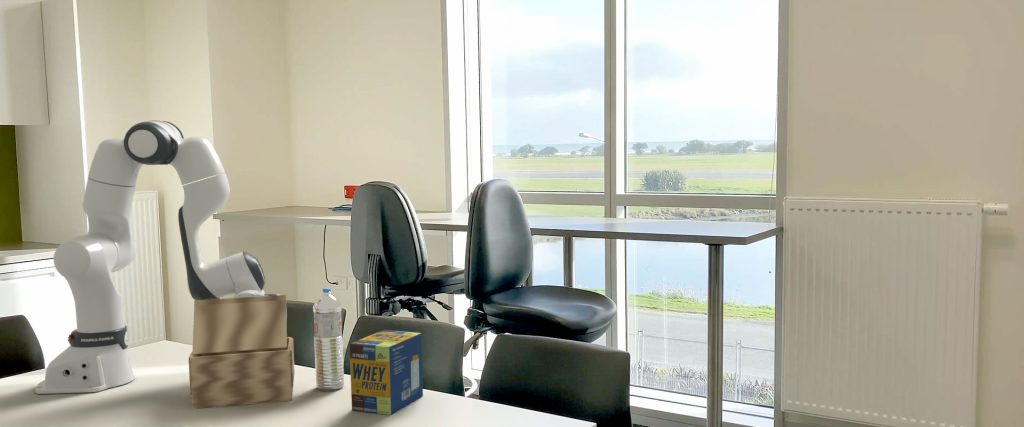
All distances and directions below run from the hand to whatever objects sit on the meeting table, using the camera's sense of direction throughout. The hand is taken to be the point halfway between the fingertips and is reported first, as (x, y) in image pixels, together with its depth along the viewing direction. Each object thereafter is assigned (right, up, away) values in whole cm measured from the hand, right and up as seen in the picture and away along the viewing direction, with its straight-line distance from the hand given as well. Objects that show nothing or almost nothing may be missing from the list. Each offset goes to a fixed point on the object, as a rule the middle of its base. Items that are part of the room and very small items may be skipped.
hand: (242, 319), depth 187 cm
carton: (0, -19, +2) cm, 19 cm away
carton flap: (+1, -1, -3) cm, 3 cm away
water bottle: (+19, -18, +8) cm, 28 cm away
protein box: (+36, -19, -6) cm, 41 cm away
